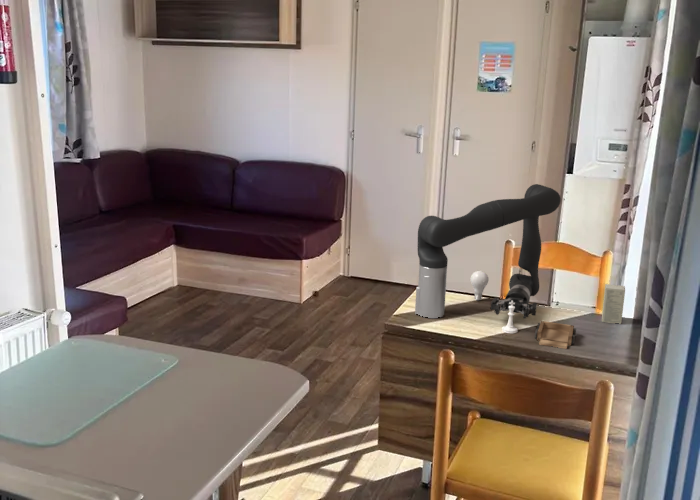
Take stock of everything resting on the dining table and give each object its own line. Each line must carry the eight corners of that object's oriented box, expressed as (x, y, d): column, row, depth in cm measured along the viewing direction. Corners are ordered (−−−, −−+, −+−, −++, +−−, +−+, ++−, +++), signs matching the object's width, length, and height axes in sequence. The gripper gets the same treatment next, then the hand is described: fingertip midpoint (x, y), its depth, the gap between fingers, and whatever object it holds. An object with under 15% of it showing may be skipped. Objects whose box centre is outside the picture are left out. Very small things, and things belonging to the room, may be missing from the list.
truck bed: (533, 343, 207) (533, 334, 206) (537, 329, 219) (538, 320, 218) (572, 349, 203) (573, 340, 202) (575, 334, 215) (576, 325, 214)
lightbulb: (488, 303, 242) (490, 273, 239) (470, 303, 242) (472, 273, 239) (485, 297, 248) (487, 268, 245) (467, 297, 248) (469, 268, 245)
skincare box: (620, 320, 229) (625, 285, 225) (621, 324, 225) (626, 289, 221) (600, 317, 231) (605, 283, 227) (601, 322, 226) (605, 287, 223)
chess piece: (519, 333, 215) (521, 303, 212) (503, 333, 215) (506, 303, 212) (515, 327, 219) (518, 298, 217) (500, 327, 219) (502, 298, 217)
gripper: (497, 284, 231) (489, 299, 216) (540, 290, 226) (535, 305, 211) (495, 305, 233) (487, 321, 218) (538, 311, 228) (532, 328, 213)
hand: (510, 313), depth 215 cm, fingers open, 8 cm apart
